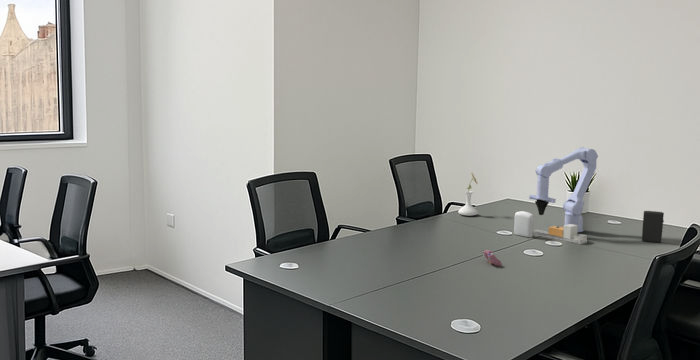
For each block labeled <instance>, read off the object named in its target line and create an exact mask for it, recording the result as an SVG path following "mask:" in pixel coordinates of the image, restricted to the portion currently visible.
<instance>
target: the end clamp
mask: <svg viewBox="0 0 700 360" xmlns="http://www.w3.org/2000/svg"><path fill="white" fill-rule="evenodd" d="M548 232H549V233H548V234H550V235H555V236H560V237H563V226H560V225H553V226H548Z"/></svg>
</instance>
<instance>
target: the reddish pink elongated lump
mask: <svg viewBox="0 0 700 360" xmlns="http://www.w3.org/2000/svg"><path fill="white" fill-rule="evenodd" d="M482 254H483V255H482V256H483V257H484V258H485V259H486V260H487V262H488V263H489V264H490V265H491V266H492V265H495V266H496V267H501V266H502V265H503V264H502V261H501V260H500V259H499V258H498V257H496V255H495V254H494V253H493V251H492V250H490V249H485V250H483V252H482Z"/></svg>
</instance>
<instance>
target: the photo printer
mask: <svg viewBox="0 0 700 360" xmlns="http://www.w3.org/2000/svg"><path fill="white" fill-rule="evenodd" d="M513 221H514V223H513V235H516V236H521V237H525V238H533V237H534V234H533V230H534V227H535V225H534V223H535V216H534V215H533V214H532V213H531V212H528V211H526V210H525V211H523V210H522V211H521V210H520V211H516V212H515V214H514V220H513Z"/></svg>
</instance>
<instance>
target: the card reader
mask: <svg viewBox="0 0 700 360" xmlns="http://www.w3.org/2000/svg"><path fill="white" fill-rule="evenodd" d="M664 214H665V213H664V212H662V211H655V210H643V218H642V233H641V241H642V242H647V243H649V242H650V243H656V244H657V243H662V236H663V229H664V228H663V227H664V221H665V220H664Z"/></svg>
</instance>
